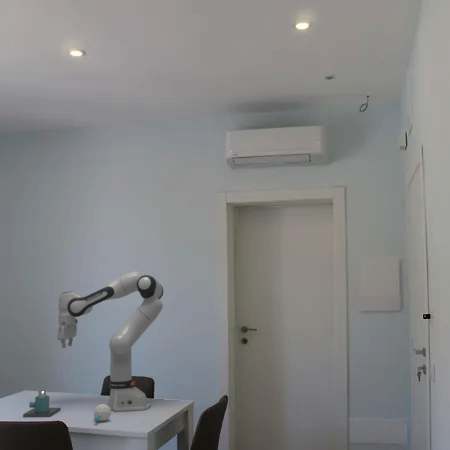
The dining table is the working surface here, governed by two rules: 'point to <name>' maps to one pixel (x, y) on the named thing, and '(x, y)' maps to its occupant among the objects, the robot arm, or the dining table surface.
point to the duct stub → (42, 414)
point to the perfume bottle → (102, 412)
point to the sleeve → (40, 404)
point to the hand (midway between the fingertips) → (67, 346)
